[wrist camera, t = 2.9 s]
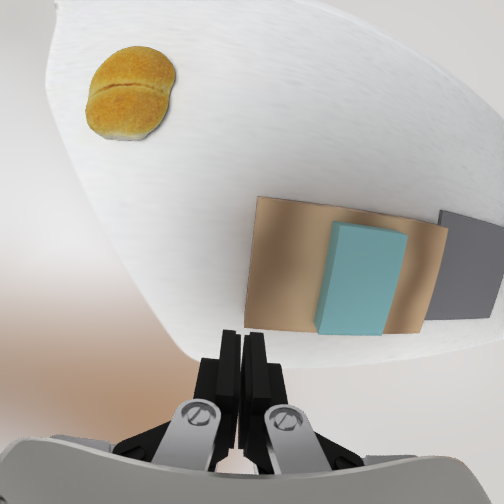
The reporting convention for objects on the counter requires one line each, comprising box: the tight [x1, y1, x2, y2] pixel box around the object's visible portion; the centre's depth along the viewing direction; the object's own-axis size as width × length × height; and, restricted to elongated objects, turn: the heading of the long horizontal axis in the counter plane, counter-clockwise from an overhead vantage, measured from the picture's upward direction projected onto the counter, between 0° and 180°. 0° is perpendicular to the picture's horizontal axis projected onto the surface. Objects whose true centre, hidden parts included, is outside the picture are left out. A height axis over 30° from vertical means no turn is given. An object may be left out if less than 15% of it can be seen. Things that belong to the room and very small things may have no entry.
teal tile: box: [314, 221, 408, 335], centre depth 22 cm, size 6×9×2 cm, turn 174°
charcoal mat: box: [424, 210, 504, 320], centre depth 26 cm, size 14×12×1 cm
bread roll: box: [85, 46, 175, 141], centre depth 20 cm, size 8×9×4 cm
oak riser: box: [244, 196, 448, 334], centre depth 24 cm, size 18×11×2 cm, turn 84°
